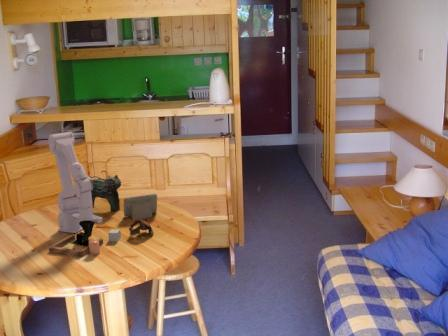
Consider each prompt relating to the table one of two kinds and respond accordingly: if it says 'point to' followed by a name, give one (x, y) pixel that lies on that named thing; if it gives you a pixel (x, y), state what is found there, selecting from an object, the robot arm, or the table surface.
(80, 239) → the black boxy piece
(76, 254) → the bay
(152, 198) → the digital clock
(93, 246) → the pinkish-brown rounded block
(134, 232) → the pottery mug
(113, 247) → the table surface
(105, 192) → the power drill
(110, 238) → the light gray block
